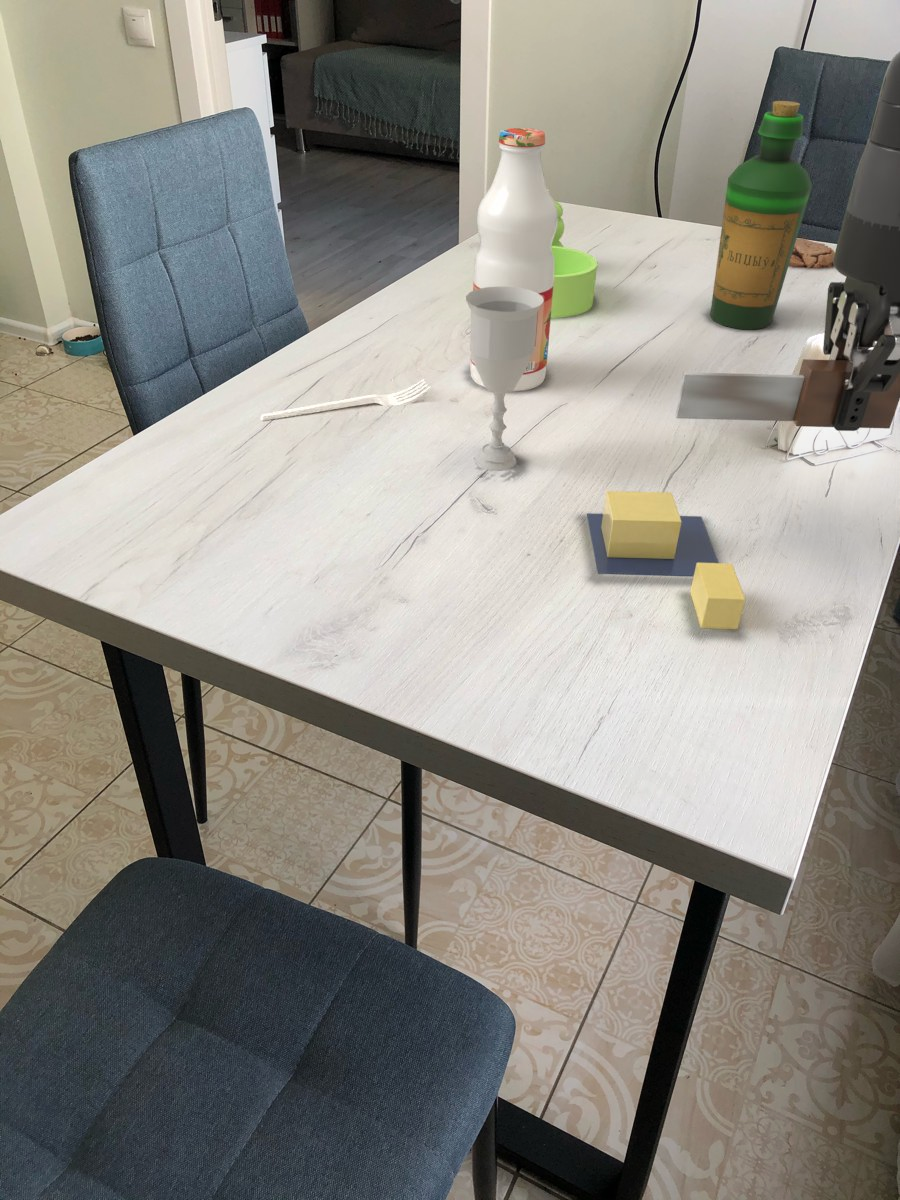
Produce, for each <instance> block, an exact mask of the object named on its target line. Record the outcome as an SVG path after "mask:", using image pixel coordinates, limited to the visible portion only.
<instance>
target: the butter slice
mask: <svg viewBox="0 0 900 1200" xmlns="http://www.w3.org/2000/svg"><path fill="white" fill-rule="evenodd" d="M689 593H690V597H691V600H692V603H693V606H694V609H695V612H696V613H695V614H696V616H697V620H698V623H699V627H700V628H701V629H715V630H717V629H718V630H738V629H739V625H740V622H741V618H742V614H743V610H744V606H745V603H746V597H745V594H744V592H743V589H742V586H741V584H740V581H739V578H738V574H737V572H736V569H735V568H734V565H733V563H723V562H721V563H720V562H718V563H697V564H696V568H695V573H694V577H692V582H691V587H690V591H689Z"/></svg>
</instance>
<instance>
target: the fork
mask: <svg viewBox="0 0 900 1200" xmlns="http://www.w3.org/2000/svg"><path fill="white" fill-rule="evenodd" d="M430 389H431V386H429V384H428V383H427V381H425V379H421V380H420V381H418V382H417V383H415V384H413V385H411V386H409V387H407V388H405V389H402V390H400V391H399V390H398V391H397V392H393V393H390V394H377V393H374V394H368V395H362V396H356V397H351V398H344V399H340V400H333V401H328V402H323V403H317V404H312V405H311V404H310V405H306V406H301V407H295V408H290V409H284V410H278V411H274V412H268V413H263V414H261V415H260V420H261V421H262V422H265V421H269V420H276V419H277V420H278V419H283V418H289V417H294V416H301V415H308V414H312V413H319V412H325V411H331V410H337V409H344V408H351V407H355V406H362V405H368V404H378V405H380V406H383V407H396V406H403V405H411V404H412V403H413V402H415V401H417V400H419V399H420V398H421V397H422V396H423V395H424V394H426V393H427V392H428V391H429V390H430Z"/></svg>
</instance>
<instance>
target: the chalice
mask: <svg viewBox="0 0 900 1200" xmlns="http://www.w3.org/2000/svg"><path fill="white" fill-rule="evenodd" d="M465 301H466V304H467V305H468V307H469V309H470V336H469V350H470V355H471V354H472V357H473V360H474V364H475V367H476V369H477V371H478V373H479V375H480V378H481V380H482V382H483V384H484V386H485V387H484V388H485V389H486V390H487V391H489V392H491V393H493V397H494V400H493V403H492V404H493V405H492V406H491V407H490V412H491V413H492V417H493V418H492V421H491V422H490V424H489V425H488V428H489V429H490V430H491V435H492V437H491V441H489V443H486V444H484V445H483V446H482V447H481V448H480V449H479V450H478V451H477V453H478V454H477V455H476V457H475V458H474V462H475V464H476V465H477V466H478V467H480V468H481V469H484V470H487V471H492V472H493V471H494V472H501V471H507V470H510V469H512V468H513V467H515V466H516V465H517V458H516V457H515V452H514V451H513V450H512V449H511V447H509V445H507V444H505V442H504V441H503V437H502V436H503V433H504V431H505V430H506V429H507V425H506V424H505V423H504V415H505V413H506V412H507V410H508V409H507V407H506V406H505V405H506V404H505V396H506V394H508V393H510V392H513V391H512V390H513V389H514V388H515V386H516V385H517V383H518V381H519V380H520V378H521V376H522V375H523V373H524V371H525V370H526V368H527V366H528V363H529V361H530V359H531V357H532V354H533V352H534V345H535V332H536V319H537V311H538V310H539V308H540V306H541V305H542V303H543V301H544V300H543V297H542V296H541V295H539V294H538V293H536V292H534V291H531V290H527V289H523V288H517V287H486V288H482V289H477V290H474V291H473V290H472V291H470V292H468V294H467V295H466V296H465Z"/></svg>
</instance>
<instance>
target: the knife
mask: <svg viewBox="0 0 900 1200" xmlns="http://www.w3.org/2000/svg"><path fill="white" fill-rule="evenodd" d="M847 364H848V360H829V359H809V358H808V359H807V358H806V359H805V358H804V359H802V362H801V365H800V369H799V371H798V372H799V373H798V374H768V373H767V374H766V373H731V372H730V373H726V372H725V373H724V372H722V373H721V372H688V371H687V372H686V371H685V372H683V374H682V380H681V385H680V391H679V395H678V400H677V405H676V410H675V418H676V419H678V420H679V419H683V420H685V419H686V420H687V419H688V420H725V421H728V420H729V421H763V422H765V421H766V422H767V421H769V422H771V421H772V422H793V423H794V425H795V426H796V427H805V428H806V427H807V428H808V427H809V428H810V427H811V428H813V427H814V428H834V426H833V425H832V422H833V418H834V415H835V411H836V408H837V404H838V401H839V397H840V394H841V390H842V387H844V386H843V381H844V377H845V373H846V368H847ZM863 364H864V363H861V364H860V365H859V369H858V372H859V371H860V369H861V367H862V366H863ZM857 374H858V373H857ZM899 402H900V373H899V375H898V376H897V378H896V379H895V381H894V382H893V384H892V385H891V387H890V388H889V390H888V391H887V392H871V394H870V397H869V401H868V404H867V407H866V410H865V414H864V417H863V420H862V423H861V426H860V428H859V429H891V426H892V424H893V423H892V422H893V420H894V417H895V414H896V412H897V409H898V406H899Z"/></svg>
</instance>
